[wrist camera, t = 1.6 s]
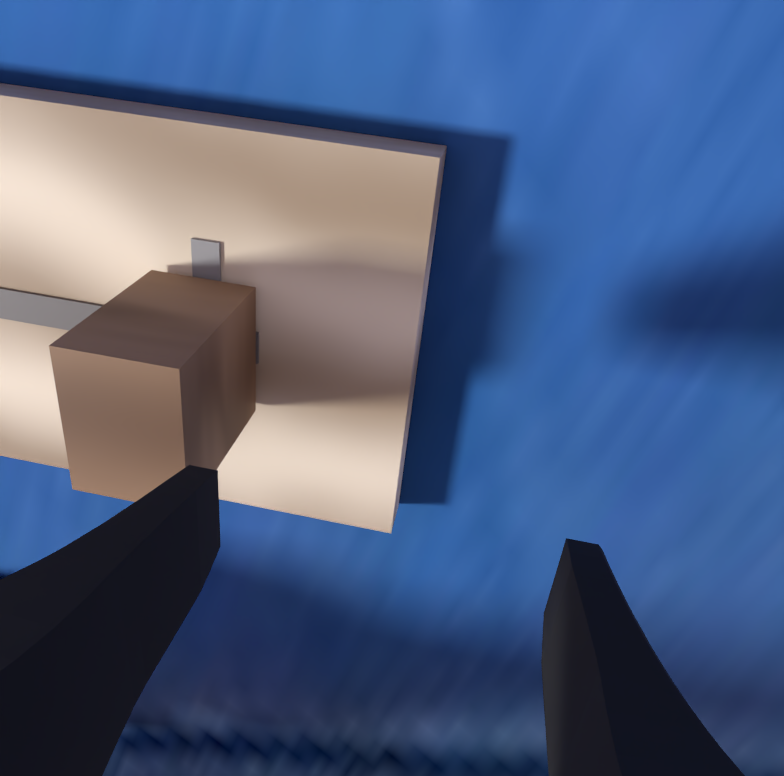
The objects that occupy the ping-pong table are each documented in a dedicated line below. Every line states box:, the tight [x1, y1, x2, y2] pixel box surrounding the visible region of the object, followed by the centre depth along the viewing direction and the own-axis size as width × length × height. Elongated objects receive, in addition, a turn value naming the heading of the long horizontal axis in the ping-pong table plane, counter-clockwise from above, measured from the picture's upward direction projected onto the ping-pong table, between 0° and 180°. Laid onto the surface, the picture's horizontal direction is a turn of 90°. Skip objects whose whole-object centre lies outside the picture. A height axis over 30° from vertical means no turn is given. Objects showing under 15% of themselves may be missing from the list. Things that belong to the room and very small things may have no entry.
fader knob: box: [49, 270, 256, 502], centre depth 18 cm, size 4×3×5 cm
